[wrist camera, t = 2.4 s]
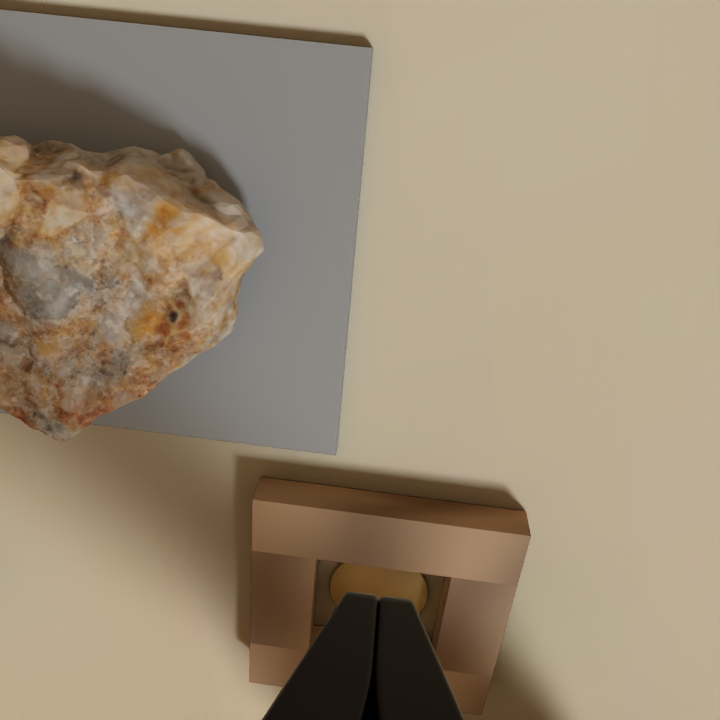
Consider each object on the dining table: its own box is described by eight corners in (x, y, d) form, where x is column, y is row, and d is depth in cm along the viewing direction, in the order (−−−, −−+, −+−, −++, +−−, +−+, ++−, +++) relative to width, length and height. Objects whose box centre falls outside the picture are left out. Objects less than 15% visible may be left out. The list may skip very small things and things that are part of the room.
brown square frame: (525, 511, 22) (530, 535, 21) (479, 687, 26) (481, 714, 25) (260, 476, 22) (252, 499, 21) (256, 655, 27) (249, 682, 26)
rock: (-68, 357, 21) (212, 470, 20) (-276, 399, 16) (97, 560, 14) (-22, 80, 19) (294, 184, 18) (-239, 12, 14) (198, 156, 12)
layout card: (373, 47, 16) (372, 48, 16) (336, 449, 22) (335, 455, 21) (-254, -17, 17) (-264, -18, 16) (-133, 390, 22) (-140, 394, 22)
